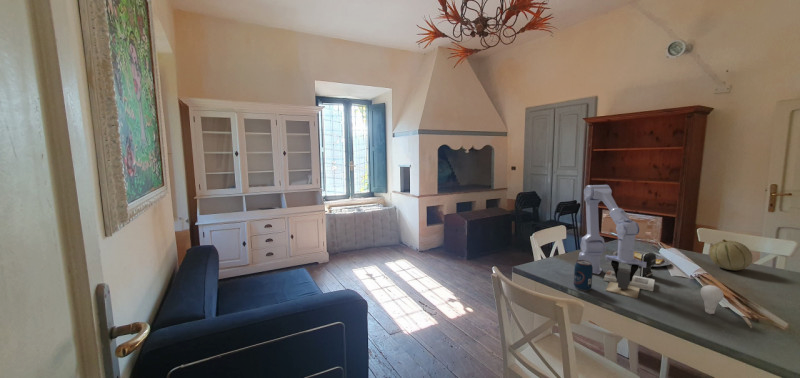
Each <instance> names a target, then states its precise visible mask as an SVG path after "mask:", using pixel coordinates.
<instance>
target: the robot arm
mask: <svg viewBox="0 0 800 378" xmlns="http://www.w3.org/2000/svg"><path fill="white" fill-rule="evenodd" d="M612 193H613V190H612V189H611V187H610V185H608V184H593V185H592V184H588V185H585V187H584V189H583V199H584V202H585V214H586V215H585V216H586V234H585V235H584V236H582V237H581V242H580V250H581V251H579V254H578V260H585V261H589V262H591V265H592V267H593V271H592V274H595V275H600V273H602V271H603V269H602V268H601V261H602V260H601V259H602V258H601V257H602V256H603V254H604V253H605V252H606V249H607V247H606V243H605V239H604V237H603V236H601V235H600V227H599V225H600V224H599V223H600V222H599V203H600V202H602V203H603V205H605V206H606V207H607V209H608V211H609V213H608V214H609V216H610V218H611V219H612V221H613V223H614V225H615V226H616V227H615V230H616V235H617V236H616V237H617V239H618V241H617V250H618V254H617V256H613V255H608V254H606V255H604V261H611V262H610V264H611V266H612V269H613V271H614V272H615V276H616V278H617V271H618V269H619V267H620V263H621V264H625V265H630V269H631V275H630V282H632V278H633V276H634V275H636V272H637V271H638V269H640V268H641V267H644V268H646V263H647V262H643V261H639V260H635V259H634V251H635V243H636V236H638V235H639V233H640V226H639V224H638V222H636V221H634V220H632V219H630V217H629V215H628V214H627V213H626V211H625V210H624V208H621V207H619V206H618V205H617V202H616V200H615V199H614V197H613V195H612ZM639 267H640V268H639Z"/></svg>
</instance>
